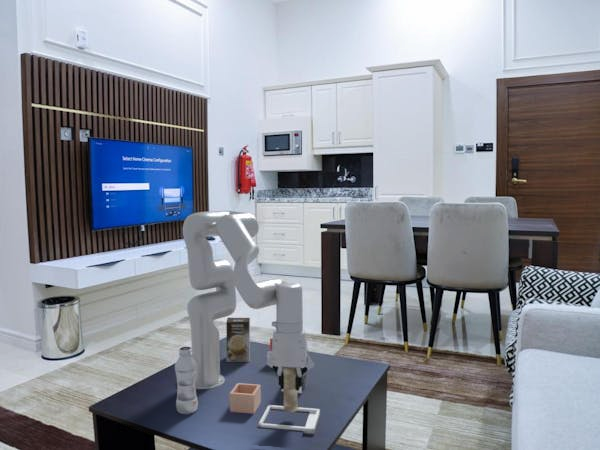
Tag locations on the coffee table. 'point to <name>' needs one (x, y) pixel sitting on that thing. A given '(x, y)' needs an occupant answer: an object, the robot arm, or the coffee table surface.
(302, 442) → the coffee table surface
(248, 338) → the coffee box
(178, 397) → the plastic bottle
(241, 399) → the pen pot
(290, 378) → the dowel
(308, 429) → the tray
